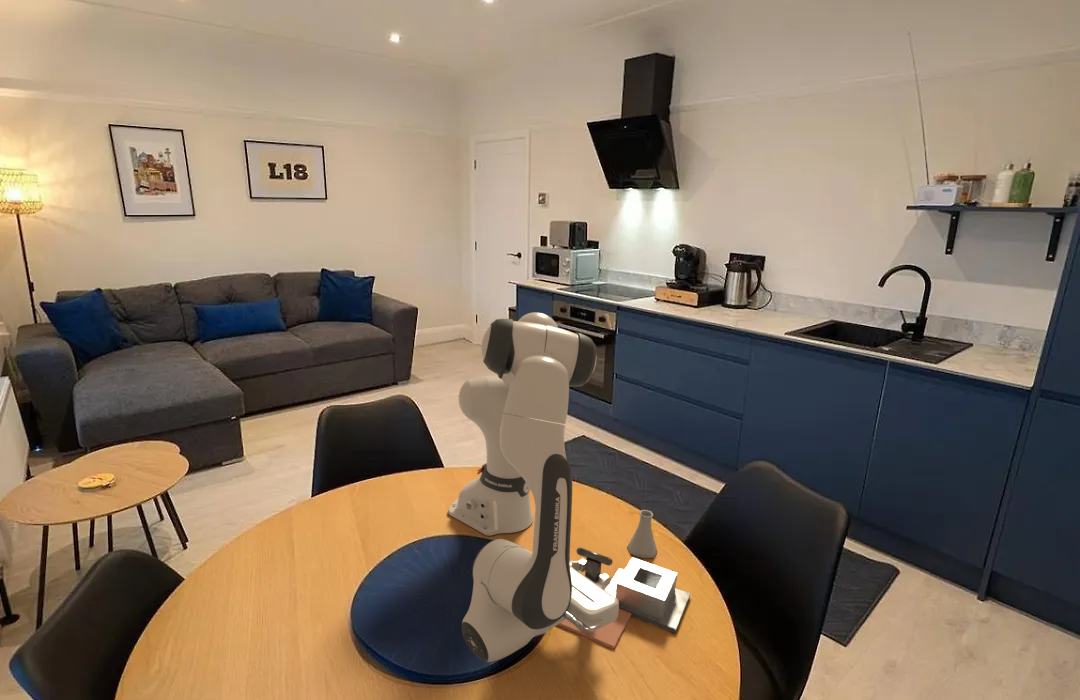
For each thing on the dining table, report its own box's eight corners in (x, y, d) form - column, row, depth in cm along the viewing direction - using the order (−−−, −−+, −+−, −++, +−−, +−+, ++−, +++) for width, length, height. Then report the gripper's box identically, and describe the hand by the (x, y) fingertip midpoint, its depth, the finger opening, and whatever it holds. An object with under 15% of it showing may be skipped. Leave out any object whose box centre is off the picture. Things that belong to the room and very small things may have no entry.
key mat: (547, 620, 108) (547, 617, 108) (568, 591, 117) (568, 588, 117) (613, 649, 102) (614, 646, 102) (631, 616, 110) (631, 613, 110)
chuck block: (599, 603, 114) (601, 580, 112) (618, 571, 124) (621, 550, 123) (675, 633, 107) (678, 609, 105) (689, 597, 117) (692, 575, 116)
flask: (657, 561, 128) (662, 524, 126) (626, 556, 130) (630, 519, 127) (657, 544, 135) (661, 508, 133) (627, 539, 137) (631, 503, 134)
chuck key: (569, 613, 110) (573, 551, 106) (575, 603, 112) (580, 543, 108) (604, 627, 106) (609, 564, 102) (609, 617, 109) (615, 555, 105)
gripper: (588, 619, 90) (640, 584, 99) (510, 558, 104) (562, 532, 114) (585, 650, 92) (637, 614, 101) (509, 586, 106) (560, 559, 115)
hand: (596, 570), depth 107 cm, fingers open, 4 cm apart
